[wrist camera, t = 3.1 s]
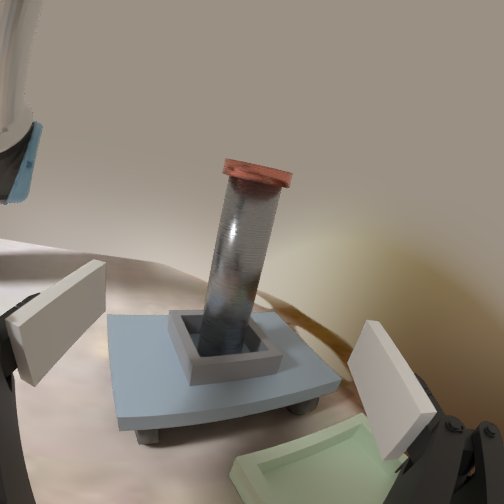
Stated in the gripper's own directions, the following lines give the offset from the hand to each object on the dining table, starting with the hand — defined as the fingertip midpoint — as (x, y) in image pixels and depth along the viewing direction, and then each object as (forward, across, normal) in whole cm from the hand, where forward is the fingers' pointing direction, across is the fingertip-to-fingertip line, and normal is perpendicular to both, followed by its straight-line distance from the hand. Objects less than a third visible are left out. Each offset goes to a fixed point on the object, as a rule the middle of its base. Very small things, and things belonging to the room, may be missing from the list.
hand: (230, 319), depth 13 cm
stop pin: (+8, 0, -8) cm, 11 cm away
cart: (+9, -1, -13) cm, 16 cm away
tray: (-4, +10, -13) cm, 17 cm away
